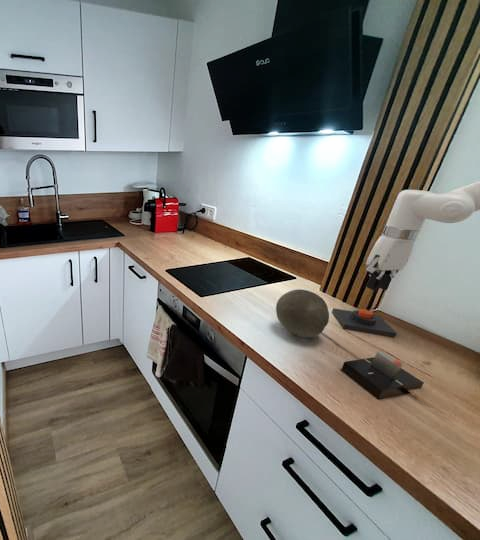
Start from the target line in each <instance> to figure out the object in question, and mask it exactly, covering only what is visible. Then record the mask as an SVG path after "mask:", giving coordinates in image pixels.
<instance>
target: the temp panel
mask: <svg viewBox="0 0 480 540" xmlns="http://www.w3.org/2000/svg"><path fill="white" fill-rule="evenodd" d="M374 358H375V356H374V357H367V358H360V359H354V360H347V361H344V362H343V364H342V367H341V369H340V371H341V372H342V373H344V374H345V375H346V376H348V378H350V379H351V380H352V381H354V382H355V383H356V384H357V385H359V386H360V387H362V388H363V389H364V390H366V391H367V392H368V393H369V394H370V395H372V396H373V397H374V398H375V399H377V400H381V399H386V398H387V399H388V398H392V397H399V396H402V395H404V396H405V395H409V394H412V392H411V391H410V390H416V389H421V388H422V387H423V385H424V384H425V382H424V381H422V380H421V379H419V378H417V377H416V376H414V375H413V374H412V373H410V372H408V371H407V370H405V369H403V368H402V367H401V368H400V370H399V372H398V374H397V376H396V378H393V379H390V378H389V377H387V376H386V375H384V374H383V373H381V372H380V371H378V370H377V369H376V368H374V367H373V366H371V364H372V362H373V360H374Z"/></svg>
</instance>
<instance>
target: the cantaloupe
mask: <svg viewBox="0 0 480 540" xmlns="http://www.w3.org/2000/svg"><path fill="white" fill-rule="evenodd" d="M275 312H276V317H277V320H278V321H279V323H280V324H281V325H282V326H283V328H285V329H286V331H288V332H289V333H291V334H293V335H295V336H298V337H301V338H314V337H318V336H319V335H321V334H322V333H323V332H324V330H325V328H326V327H327V326H328V324H329V320H330V312H329V307H328V305H327V302H326V301H325V300H324V299H323V297H321V296H320V295H319V294H317V293H315V292H313V291H311V290H306V289H300V288H299V289H293V290H290V291H288V292H285V293H283V294H282V295H281V296H280V297H279V298H278V300H277V301H276V304H275Z"/></svg>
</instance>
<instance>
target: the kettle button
mask: <svg viewBox="0 0 480 540" xmlns="http://www.w3.org/2000/svg"><path fill="white" fill-rule="evenodd" d="M358 310H359V312H358V315H359V316H361V317H364V318H367V319H371V318H372V315H374V313H373V311H371V310H369V309H365V308H360V309H358Z"/></svg>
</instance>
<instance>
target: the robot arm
mask: <svg viewBox="0 0 480 540" xmlns="http://www.w3.org/2000/svg"><path fill="white" fill-rule="evenodd" d="M478 211H480V180H478V181H476V182H473V183H471V184H466V185H465V186H462V187H458V188H456V189H453V190H450V191H447V192H445V193H434V192H432V191H430V190H429V191H428V190H420V189H403V190H401V191H400V192H399V193H398V194H397V197H396V199H395V201H394V203H393V206H392V209H391V211H390V213H389V216H388V218H387V220H386V224H385V225H384V229H383V231H382V234H381V235H380V236H379V237H378V239H377V240H376V242H375V243H374V245H373V247H372V249H371V250H370V253H369V255H368V257H367V259H366V262H365V265H366V266H367V267H366V268H365V271H366V272H368V273H369V275H368V276H369V278H368V281H367V283H366V285H365V287H366V288H367V289H370V290H371V291H374V292H377V291H378V290H379V289H381V290H384V291H387V290H388V289H389V287H390V284H391V283H392V280H393V279H394V278H395V276H396V274H397V273H399V272H400V271H402V270H404V268H405V267H406V265H407V263H408V261H409V259H410V256H411V255H412V252H413V249H414V245H415V242H416V241H417V238H418V236H419V234H420V232H421V229H422V227H423V225H424V223H425V221H426V220H430V221H434V222H438V223H443V224H456V223H460V222H463V221H465V220H468V219H469V218H470V217H471V216H472V215H473V214H474V212H475V213H476V212H478Z"/></svg>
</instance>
